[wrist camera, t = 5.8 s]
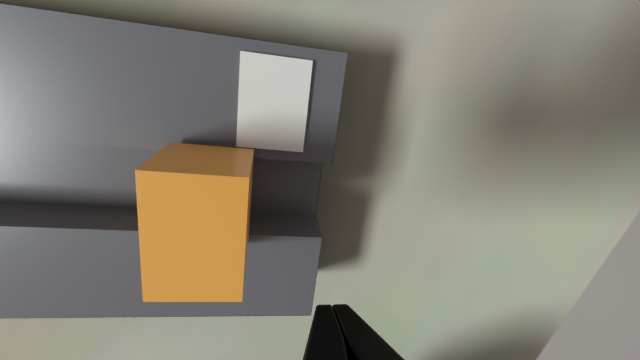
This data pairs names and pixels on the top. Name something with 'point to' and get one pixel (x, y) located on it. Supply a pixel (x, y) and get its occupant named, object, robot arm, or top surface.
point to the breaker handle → (194, 222)
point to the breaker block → (140, 145)
